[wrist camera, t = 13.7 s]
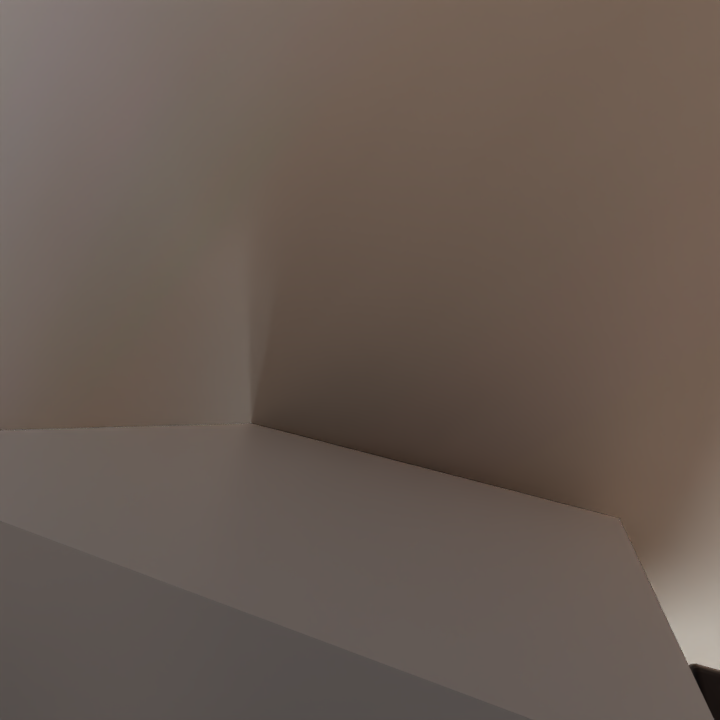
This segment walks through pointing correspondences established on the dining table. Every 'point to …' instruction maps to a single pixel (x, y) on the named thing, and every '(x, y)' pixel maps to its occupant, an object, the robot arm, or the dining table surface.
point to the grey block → (310, 588)
